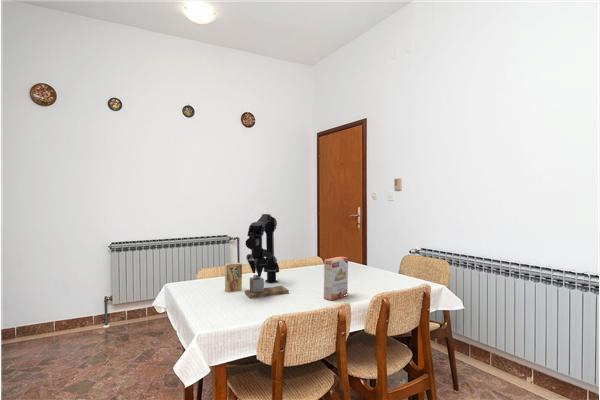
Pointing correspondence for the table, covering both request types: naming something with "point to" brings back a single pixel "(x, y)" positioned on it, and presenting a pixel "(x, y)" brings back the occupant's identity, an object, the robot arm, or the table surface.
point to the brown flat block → (268, 292)
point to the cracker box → (335, 277)
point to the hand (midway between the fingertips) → (256, 274)
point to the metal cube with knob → (256, 284)
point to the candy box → (233, 277)
